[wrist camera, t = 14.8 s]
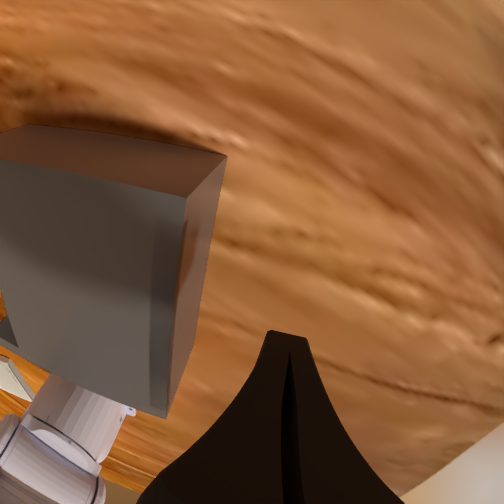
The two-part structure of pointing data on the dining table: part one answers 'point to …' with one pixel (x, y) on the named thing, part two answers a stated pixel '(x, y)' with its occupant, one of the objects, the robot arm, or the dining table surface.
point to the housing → (105, 257)
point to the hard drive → (14, 380)
